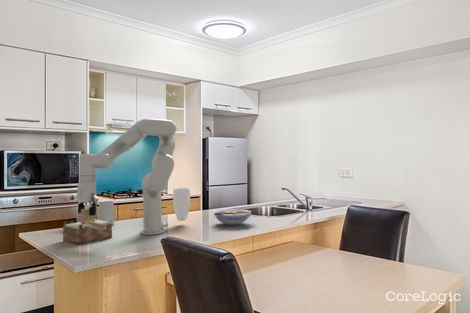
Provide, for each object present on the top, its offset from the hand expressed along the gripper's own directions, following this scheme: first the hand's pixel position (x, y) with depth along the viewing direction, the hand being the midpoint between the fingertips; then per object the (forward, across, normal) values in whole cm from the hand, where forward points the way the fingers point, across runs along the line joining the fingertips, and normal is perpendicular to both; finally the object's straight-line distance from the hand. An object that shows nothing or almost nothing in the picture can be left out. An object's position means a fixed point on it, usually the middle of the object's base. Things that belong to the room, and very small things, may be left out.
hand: (86, 214), depth 175 cm
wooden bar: (+4, +16, -5) cm, 17 cm away
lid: (+5, 0, +1) cm, 5 cm away
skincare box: (+12, -24, +28) cm, 39 cm away
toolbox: (+12, 0, +1) cm, 12 cm away
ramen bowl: (+11, +35, +73) cm, 81 cm away
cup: (+12, +12, +54) cm, 56 cm away
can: (+13, -28, +18) cm, 36 cm away
